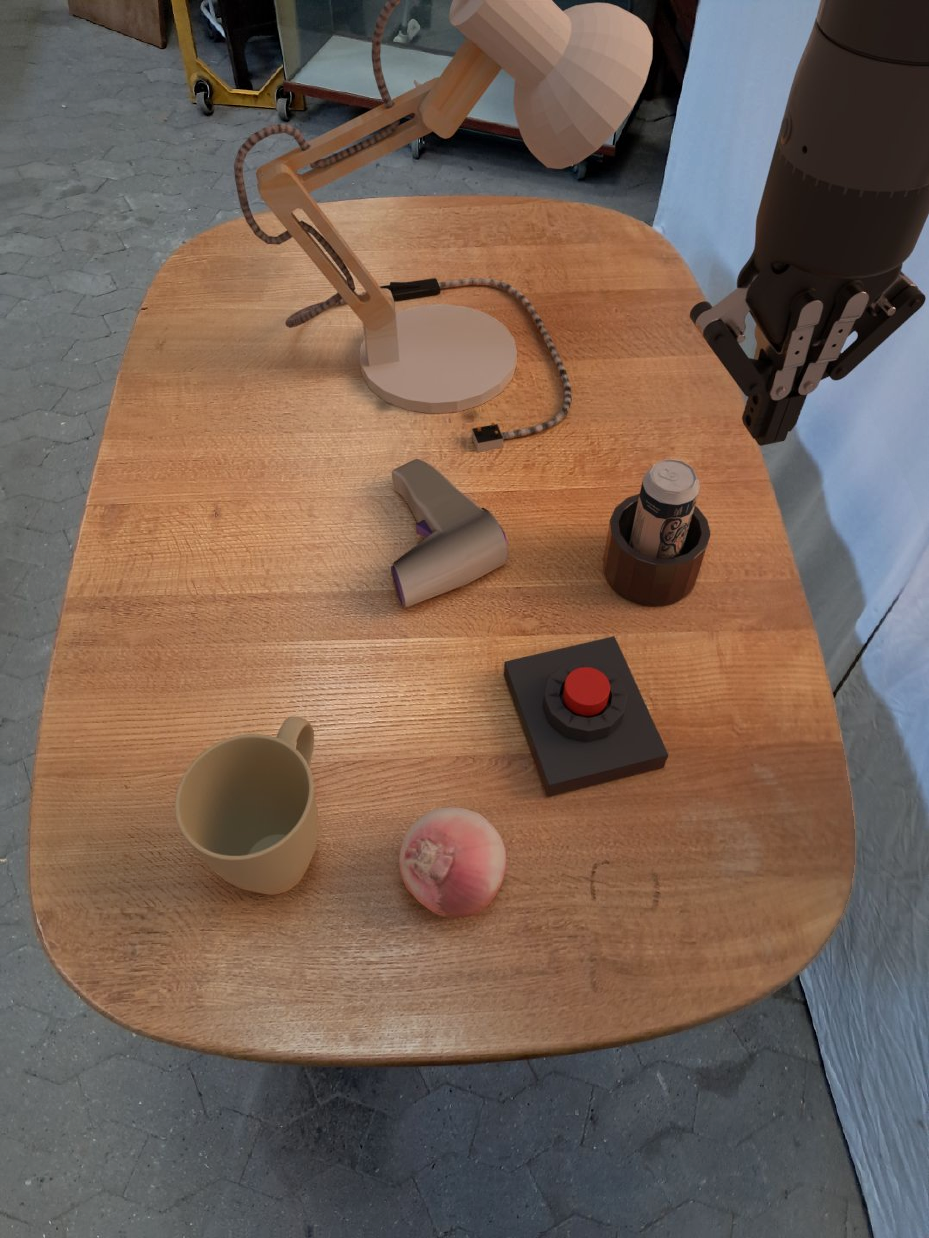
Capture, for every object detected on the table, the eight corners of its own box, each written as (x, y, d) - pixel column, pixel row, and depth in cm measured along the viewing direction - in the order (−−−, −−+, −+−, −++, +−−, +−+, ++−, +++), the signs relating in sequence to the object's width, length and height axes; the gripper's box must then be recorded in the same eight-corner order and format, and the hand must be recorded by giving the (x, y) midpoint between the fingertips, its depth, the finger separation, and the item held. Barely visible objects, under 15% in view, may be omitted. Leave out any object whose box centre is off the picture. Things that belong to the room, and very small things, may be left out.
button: (614, 710, 73) (616, 699, 71) (571, 721, 72) (573, 709, 71) (598, 674, 75) (600, 662, 73) (556, 684, 74) (558, 672, 73)
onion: (381, 865, 69) (373, 826, 63) (462, 807, 71) (461, 765, 66) (445, 950, 65) (442, 917, 59) (527, 886, 68) (533, 848, 62)
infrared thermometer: (430, 480, 94) (516, 564, 86) (328, 530, 90) (409, 624, 82) (426, 446, 91) (516, 530, 83) (320, 496, 87) (404, 590, 79)
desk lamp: (646, 421, 98) (730, -1, 66) (298, 484, 93) (206, 58, 61) (559, 265, 116) (593, -128, 84) (264, 310, 111) (178, -91, 78)
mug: (360, 894, 67) (342, 828, 58) (228, 940, 65) (186, 879, 56) (324, 769, 74) (302, 690, 64) (202, 808, 72) (160, 732, 62)
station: (664, 767, 73) (672, 743, 70) (546, 797, 72) (550, 774, 69) (611, 650, 80) (617, 623, 77) (503, 675, 79) (504, 649, 76)
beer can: (664, 594, 83) (689, 503, 74) (616, 575, 85) (635, 483, 75) (683, 559, 86) (710, 467, 76) (637, 541, 87) (657, 448, 78)
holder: (715, 569, 86) (729, 526, 81) (657, 623, 82) (669, 581, 77) (641, 521, 90) (651, 477, 85) (583, 570, 86) (590, 527, 81)
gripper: (767, 206, 37) (687, 499, 51) (1045, 161, 39) (895, 456, 53) (693, 122, 42) (638, 414, 56) (947, 86, 44) (832, 377, 58)
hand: (764, 434), depth 55 cm, fingers closed
